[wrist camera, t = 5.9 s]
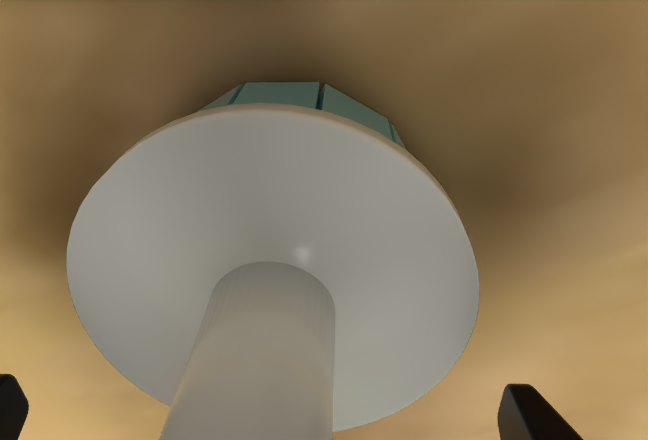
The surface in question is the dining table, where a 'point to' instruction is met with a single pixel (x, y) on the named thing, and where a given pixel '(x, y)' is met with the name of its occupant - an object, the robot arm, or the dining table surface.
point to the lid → (273, 273)
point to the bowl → (308, 102)
